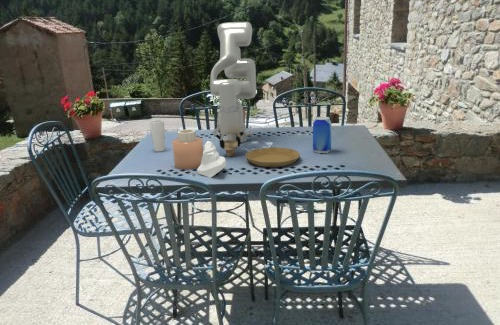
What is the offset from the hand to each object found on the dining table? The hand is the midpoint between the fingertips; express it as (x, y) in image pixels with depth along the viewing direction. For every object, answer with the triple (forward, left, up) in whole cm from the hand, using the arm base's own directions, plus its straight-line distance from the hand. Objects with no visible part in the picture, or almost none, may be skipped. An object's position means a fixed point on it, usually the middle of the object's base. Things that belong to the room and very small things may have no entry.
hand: (230, 146), depth 198 cm
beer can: (-40, +15, -4) cm, 43 cm away
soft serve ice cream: (+15, +21, -4) cm, 26 cm away
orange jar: (+21, +5, -4) cm, 22 cm away
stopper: (0, 0, -4) cm, 4 cm away
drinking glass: (+29, -25, -4) cm, 39 cm away
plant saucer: (-14, +17, -5) cm, 23 cm away
